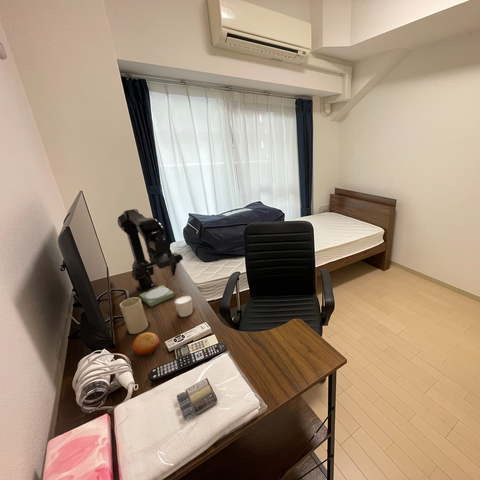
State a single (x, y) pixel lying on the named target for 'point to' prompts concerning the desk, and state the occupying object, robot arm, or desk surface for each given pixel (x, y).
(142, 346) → the fruit
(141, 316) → the cup
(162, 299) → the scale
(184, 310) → the white cylinder
